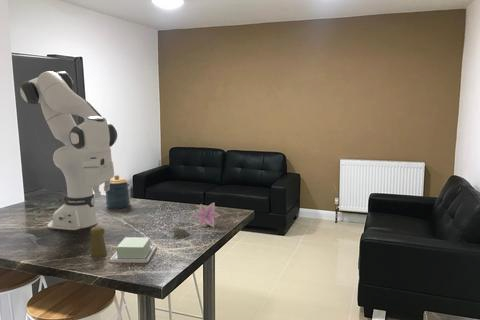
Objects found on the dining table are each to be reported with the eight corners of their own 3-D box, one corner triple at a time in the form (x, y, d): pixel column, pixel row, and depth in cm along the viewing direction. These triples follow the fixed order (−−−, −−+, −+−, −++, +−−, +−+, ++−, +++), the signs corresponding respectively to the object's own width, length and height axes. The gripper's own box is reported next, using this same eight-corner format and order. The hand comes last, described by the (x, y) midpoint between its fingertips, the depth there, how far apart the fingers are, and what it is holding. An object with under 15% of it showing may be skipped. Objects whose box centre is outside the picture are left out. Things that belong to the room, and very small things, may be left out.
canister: (126, 209, 212) (124, 177, 209) (102, 209, 212) (100, 177, 209) (133, 202, 224) (131, 172, 222) (110, 202, 225) (109, 172, 222)
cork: (93, 251, 154) (91, 225, 153) (108, 251, 155) (107, 224, 153) (88, 258, 148) (86, 230, 147) (104, 257, 149) (103, 230, 147)
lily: (189, 225, 188) (189, 212, 182) (203, 211, 196) (203, 197, 190) (210, 236, 184) (211, 222, 178) (223, 221, 192) (224, 207, 186)
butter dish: (110, 262, 145) (109, 249, 144) (122, 247, 158) (121, 235, 158) (147, 262, 144) (147, 249, 143) (156, 247, 158) (156, 235, 157)
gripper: (101, 155, 160) (104, 187, 162) (80, 163, 140) (83, 200, 142) (116, 154, 160) (119, 187, 162) (97, 162, 140) (100, 200, 142)
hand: (102, 193), depth 152 cm, fingers open, 8 cm apart
